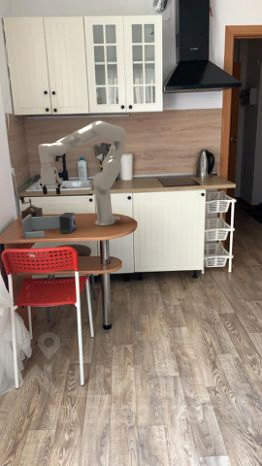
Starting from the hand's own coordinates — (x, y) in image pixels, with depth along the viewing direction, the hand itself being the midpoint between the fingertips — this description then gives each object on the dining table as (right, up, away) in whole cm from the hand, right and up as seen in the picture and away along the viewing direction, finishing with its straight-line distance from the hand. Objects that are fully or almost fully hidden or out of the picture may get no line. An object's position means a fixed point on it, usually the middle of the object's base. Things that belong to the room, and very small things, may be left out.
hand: (52, 194), depth 226 cm
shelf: (-3, -23, +2) cm, 23 cm away
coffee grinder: (-20, -16, +29) cm, 39 cm away
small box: (+10, -22, +2) cm, 24 cm away
